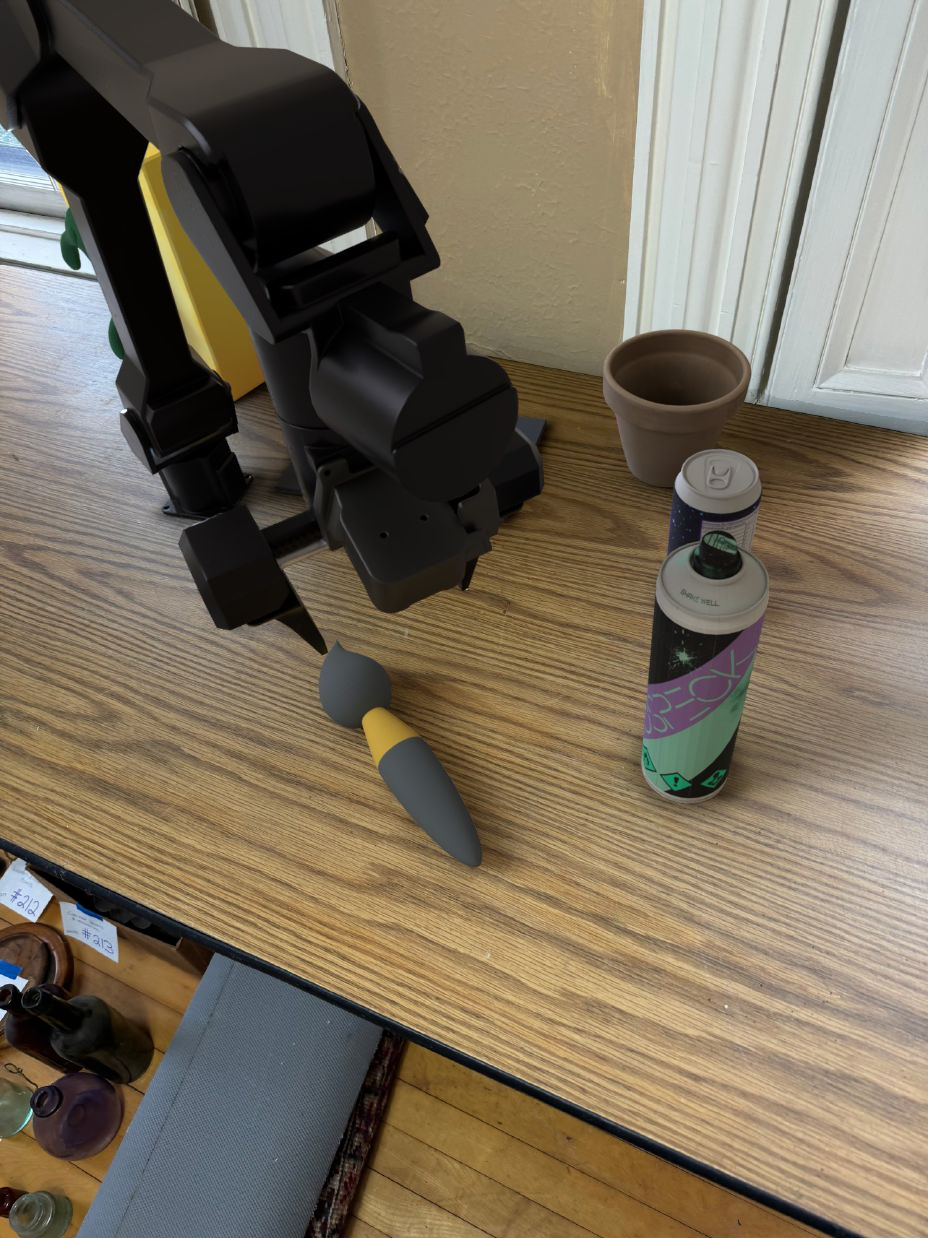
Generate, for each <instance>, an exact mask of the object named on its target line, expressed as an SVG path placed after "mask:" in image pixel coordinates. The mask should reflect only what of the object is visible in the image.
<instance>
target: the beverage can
mask: <svg viewBox="0 0 928 1238" xmlns="http://www.w3.org/2000/svg"><path fill="white" fill-rule="evenodd" d="M672 488H673V490H672V498H671V500H672V501H671V508H670V509H671V510H670V511H671V512H670V520H669V522H670V523H669V531H668V541H667V552H666V557H667V556H668V555H669V554H670V553H671V552H672V551H674V550H676V549H677V548H679V547H681V546H684V545H686V544H689V543H693V542H698V541H701V540H702V537H703V536H704V535H705V534H706V533H708V532H710V531H717V530H718V531H725V532H728V533H730V534H731V535H732V536H733V537H734V538H735V539H736V541H737V545H738V546H740V547H742V548H744V549H746V550H748V551H749V552H751V553H752V547H753V542H754V538H755V533H756V527H757V524H758V523H757V522H758V517H759V511H760V506H761V502H762V496H763V484H762V481H761V479H760V472H759V469H758V466H757V465H756V463H755V462H754V461H753V460H752V459H751V458H749V457H748V456H746V455H744V454H743V453H740V452H738V451H735V450H730V449H722V448H714V449H712V450H706V451H702V452H699V453H696V454H694V455H693V456H691V457H689V458H688V459H687V460H686V461H685V463H684V464H683V466H682V469H681V472H680V473H679V474H678V476H677V477H676V479H675V482H674V487H672Z"/></svg>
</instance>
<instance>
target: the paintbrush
mask: <svg viewBox="0 0 928 1238" xmlns="http://www.w3.org/2000/svg"><path fill="white" fill-rule="evenodd" d="M318 695H319V701H320V705H321V707H322V709H323V710H324V712H325V714H326V716H328V717H329V718H330V720H331V721H333V722H334V723H336V724H337V725H339V726H342V727H344V728H346V729H347V728H348V729H363V731H364V732H363V733H364V735H365V739H366V741H367V744H368V748H369V750H370V754H371V757H372V759H373V762H374V765H375V767H376V769H377V772H378V774H379V776H380V777H381V779H382V781H383V782H384V783H385V785H386V787H387V788H388V790H389V791H390V792H391V794H392V795H393V796H394V797H395V799H396V800H397V801H398V803H399V804H400V805H401V807H402V808H403V809H404V810H405V811H406V813H407V814H408V815H409V816H410V817H411V819H413V821H414V822H415V823H416V824H417V825H418V826H419V828H420V829H422V830H423V832H424V833H425V834H426V835H427V836H428V837H429V838H430V839H431V840H432V841H433V842H434V843H435V844H436V845H437V846H439V848H440V849H441V850H443V851H444V852H445V853H446V854H448V855H449V856H450V857H451V858H452V859H454V860H455V861H458V862H459V863H461V864H463V865H464V866H467V867H470V868H479V867H480V866H481V865H482V863H483V860H484V859H483V857H484V856H483V855H484V854H483V853H484V852H483V847H482V842H481V838H480V835H479V831H478V829H477V827H476V824H475V822H474V819H473V818H472V815H471V812H470V811H469V809H468V807H467V805H466V803H465V801H464V800H463V797H462V795H461V794H460V791H459V790H458V788H457V786H456V785H455V782H454V781H453V779H452V778H451V776H450V773H448V771H447V770H446V768H445V766H444V765H443V763H442V762H441V760H440V759H439V758H438V756H437V754H436V753H435V751H434V750H433V749H432V748H431V746H430V745H429V744H428V743H427V741H426V740H425V739H424V738H423V737H422V736H421V735H420V734H419V733H417V732H416V731H415V730H414V729H413V728H411V727H410V726H409V725H408V724H406V723H405V722H404V721H402V720H401V719H400V718H398V717H397V716H395V715H394V714H393V713H391V712H390V711H389V708H390V706H391V704H392V703H391V702H392V698H393V685H392V681H391V678H390V676H389V673H388V672H387V670H386V668H385V667H384V666H383V665H382V664H381V663H380V662H378V661H377V660H375V659H374V658H371V657H370V656H367V655H364V654H361V653H358V652H354V651H351V650H347V649H345V648H344V647H343V646H342V644H341V643H340V642H339V640H338V639H336V640H335V641H334V644H333V645H332V647H331V648H330V649H329V650H328V653H327V654H326V656H325V658H324V660H323V662H322V665H321V667H320V672H319V678H318Z"/></svg>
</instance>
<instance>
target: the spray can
mask: <svg viewBox="0 0 928 1238" xmlns="http://www.w3.org/2000/svg"><path fill="white" fill-rule="evenodd" d="M654 592H655V593H654V604H653V615H652V616H653V617H652V629H651V640H650V650H649V651H650V652H649V665H648V675H647V676H648V677H647V688H646V700H645V711H644V712H645V713H644V723H643V733H642V736H643V737H642V745H641V747H642V748H641V759H640V760H641V762H640V763H641V771H642V774H643V777H644V779H645V781H646V783H647V784H648V785H649V787H650V788H651V789H652V790H653V791H654V792H655V793H657V794H658V795H659V796H661V797H663V798H664V799H667V800H669V801H671V802H675V803H679V804H688V805H689V804H690V805H691V804H699V803H702V802H706V801H708V800H711V799H712V798H714V797H715V796H716V795H717V794H719V793H720V791H722V789H723V788H724V786H725V784H726V783H727V779H728V777H729V772H730V769H731V763H732V759H733V754H734V751H735V746H736V741H737V738H738V733H739V729H740V725H741V720H742V715H743V711H744V707H745V702H746V699H747V694H748V689H749V685H750V682H751V678H752V673H753V668H754V664H755V659H756V655H757V651H758V647H759V643H760V642H759V641H760V638H761V633H762V629H763V625H764V620H765V616H766V611H767V607H768V603H769V598H770V576H769V573H768V570H767V568H766V566H765V565H764V563H763V561H761V560H760V558H758V557H757V556H756V554H754V553H753V552H752V551H751V552H749V551H748V550H746V549H744V548H742V547H740V546H738V545H737V541H736V539H735V538H734V537H733V536H732V535H731V534H730V533H728V532H725V531H718V530H717V531H710V532H708V533H706V534H705V535H704V536H703V537H702V540H701V541H698V542H693V543H689V544H686V545H684V546H681V547H679V548H677V549H676V550H674V551H672V552H671V553H670V554H669V555H668V556H667V555H666V556H665V558H664V560H663V561H662V563H661V565H660V567H659V570H658V576H657V577H656V582H655V591H654Z"/></svg>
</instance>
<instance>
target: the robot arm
mask: <svg viewBox="0 0 928 1238" xmlns="http://www.w3.org/2000/svg"><path fill="white" fill-rule="evenodd" d="M0 126H1V127H2V129H4V130H5V131H6V132H10V133H11V134H12V136H13V137H14V138H15V139H16V140H17V141H18V143H20V145H21V146H22V147H23V149H25V151H26V152H27V153H28V154H29V155H30V157H31V158H32V159H33V160H34V161H35V162H36V163H37V165H38V166H39V167H40V168H41V169H42V171H43V172H44V173H45V174H47V175H48V176H49V177H51V178H52V179H53V180H54V181H55V182H56V181H57V182H58V183H60V184H61V186H62V189H63V191H64V194H65V196H66V199H67V202H68V204H69V207H70V209H71V212H72V215H73V217H74V220H75V222H76V225H77V228H78V230H79V233H80V235H81V238H82V241H83V243H84V246H85V248H86V251H87V254H88V256H89V259H90V260H89V259H88V260H89V262H90V261H91V262H90V264H91V267H92V270H93V272H94V275H95V277H96V279H97V283H98V285H99V287H100V290H101V292H102V295H103V297H104V300H105V303H106V306H107V308H108V310H109V313H110V315H111V317H112V318H113V321H114V324H115V326H116V329H117V331H118V334H119V337H120V339H121V342H122V344H123V347H124V350H125V355H124V358H123V360H121V364H120V367H119V370H118V373H117V376H116V379H115V381H114V385H115V388H116V390H117V393H118V396H119V398H120V401H121V404H122V407H123V410H121V411H119V425H120V426H119V428H120V431H121V435H122V436H123V438H124V440H125V441H126V443H127V445H128V447H129V448H130V451H131V452H132V454H133V455H134V456H135V457H136V458H137V459H138V460H139V462H140V463H141V464H142V465H143V466H144V468H146V470H147V471H148V472H149V473H150V474H151V475H152V476H154V475H157V474H158V476H159V477H160V480H161V482H162V484H163V486H164V488H165V490H166V493H167V494H168V496H169V498H168V499H167V500H166V502H165V503H164V505H163V506H162V507H161V512H162V514H163V515H165V516H170V517H178V518H185V519H190V520H198V521H199V522H197V523H194V524H192V525H189V526H187V527H184V528H183V529H182V530H181V531H182V532H181V534H180V536H179V539H178V542H177V545H178V547H179V550H180V552H181V554H182V557H183V558H184V561H185V563H186V565H187V568H188V570H189V572H190V575H191V577H192V580H193V582H194V584H195V587H196V589H197V591H198V593H199V595H200V597H201V599H202V602H203V603H204V606H205V608H206V609H207V613H208V614H209V616H210V617H211V619H212V622H213V624H214V626H215V628H216V629H220V630H225V631H229V632H230V631H233V630H236V629H238V628H240V627H242V626H244V625H246V626H248V627H252V628H257V627H260V626H262V625H264V624H266V623H268V622H269V623H270V622H272V621H274V620H275V621H276V622H278V623H281V624H283V625H284V626H286V627H287V628H289V629H291V630H292V631H293V632H294V633H296V634H297V636H299V637H300V638H301V639H303V641H305V642H306V643H307V644H308V645H309V646H310V647H311V648H312V649H314V650H315V651H316V652H318V653H319V654H320V655H321V656H325V655H327V654H328V653H329V650H328V647H327V643H326V640H325V638H324V637H323V635H322V633H321V632H320V629H319V628H318V626H317V624H316V621H314V619H313V617H312V615H311V614H310V612H309V610H308V609H307V607H306V605H305V604H304V602H303V600H302V598H301V597H300V595H299V593H298V592H297V590H296V589H295V587H294V584H293V583H292V581H291V580H290V578H289V577H288V575H287V573H286V571H285V570H284V569H286V568H289V567H291V566H293V565H296V564H298V563H300V562H302V561H305V560H307V559H309V558H312V557H314V556H317V555H318V554H322V553H324V552H326V551H328V550H330V551H331V552H335V551H337V550H339V549H342V548H344V550H345V553H346V555H347V558H348V559H349V561H350V563H351V565H352V566H353V569H354V571H355V572H356V574H357V576H358V578H359V580H360V582H361V583H362V586H363V587H364V589H365V591H366V594H367V596H368V598H369V600H370V601H371V603H372V605H373V607H374V608H375V609H377V610H378V611H380V612H382V613H386V614H396V613H400V612H404V611H405V610H407V609H409V608H410V607H411V606H412V605H414V604H416V603H419V602H420V601H423V600H425V599H427V598H429V597H432V596H434V595H436V594H438V593H440V592H443V591H449V590H452V589H454V588H455V587H456V586H457V587H458V588H459V589H460V591H461V592H464V591H466V590H468V589H469V588H470V586H471V585H470V584H471V582H472V579H473V576H474V573H475V570H476V568H477V565H478V561H479V558H480V557H481V556H483V555H485V554H488V553H490V552H492V551H493V546H492V542H491V540H490V538H492V537H495V536H497V535H498V534H499V529H500V524H501V522H500V519H502V518H504V517H507V516H511V515H513V514H516V513H517V512H520V511H521V510H522V509H523V507H524V504H525V502H526V501H529V500H531V499H533V498H535V497H539V496H540V495H542V492H543V490H544V488H545V474H544V473H545V470H544V461H543V458H542V456H541V453H540V451H539V449H538V446H536V445H534V444H533V443H532V442H531V441H530V440H529V439H528V438H527V437H526V436H525V435H524V434H523V433H522V432H521V431H520V430H519V429H518V428H517V427H516V424H517V420H518V417H519V405H520V402H519V395H518V390H517V388H516V387H515V386H514V385H513V383H512V380H511V378H510V376H509V374H508V372H507V371H506V370H505V369H504V368H503V367H502V366H501V364H500V363H499V362H497V361H496V360H493V359H492V358H490V357H489V356H487V355H485V354H484V353H482V352H480V351H479V350H477V349H475V348H474V347H472V346H470V345H468V344H467V342H466V335H465V329H464V327H463V324H462V323H461V322H460V321H458V320H457V319H455V318H453V317H451V316H450V315H448V314H446V313H444V312H441V311H439V310H435V309H430V308H427V307H426V306H423V305H422V304H420V303H418V302H417V301H415V300H414V295H413V291H412V285H411V282H412V281H413V280H416V279H417V278H420V277H422V276H424V275H426V274H428V273H431V272H432V271H435V270H437V269H439V268H440V267H441V262H442V261H441V260H442V259H441V256H440V254H439V251H438V249H437V248H436V246H435V244H434V241H433V239H432V237H431V235H430V233H429V231H428V229H427V227H426V224H427V223H428V220H429V218H430V215H429V213H428V210H426V208H425V206H424V205H423V203H422V201H421V200H420V199H421V198H419V196H418V195H417V193H416V191H415V189H414V188H413V186H412V185H411V183H410V181H409V179H408V178H407V176H406V175H405V173H404V171H403V169H402V167H401V166H400V164H399V162H398V161H397V159H396V158H395V155H394V154H393V153H392V151H391V149H390V148H389V146H388V144H387V142H386V141H385V139H384V137H383V135H382V133H381V131H380V129H379V127H378V125H377V123H376V121H375V119H374V117H373V115H372V113H371V111H370V110H369V108H368V107H367V105H366V103H365V102H364V101H363V100H362V98H360V96H358V95H357V94H356V93H355V92H354V90H353V89H352V88H351V86H350V85H349V84H348V83H347V82H346V81H345V79H343V77H341V75H339V73H337V72H336V71H334V69H332V68H330V67H329V66H327V65H325V64H323V63H320V62H318V61H316V60H314V59H311V58H308V57H307V56H304V55H302V54H299V53H297V52H295V51H292V50H290V49H287V48H276V47H255V46H237V45H233V44H231V43H229V42H227V41H224V40H222V39H221V38H220V37H219V36H218V35H217V34H215V33H214V32H213V31H211V29H208V28H207V27H206V26H205V25H204V24H203V23H202V22H200V21H199V20H197V18H195V17H194V16H192V15H191V14H190V13H188V12H187V11H186V10H185V9H184V8H183V7H182V6H180V5H179V4H178V3H177V2H175V1H174V0H0ZM150 142H151V143H152V144H153V145H154V146H155V147H156V148H157V149H158V150H159V151H160V153H161V157H162V159H161V173H162V178H163V183H164V186H165V189H166V192H167V195H168V198H169V201H170V203H171V205H172V208H173V210H174V213H175V215H176V216H177V218H178V220H179V222H180V224H181V226H182V228H183V230H184V231H185V233H186V235H187V236H188V238H189V239H190V241H191V242H192V244H193V245H194V247H195V248H196V250H197V251H198V253H199V254H200V256H201V257H202V258H203V260H204V261H205V263H206V264H207V266H208V267H209V269H210V270H211V272H212V273H213V275H214V276H215V277H216V279H217V280H218V282H219V283H220V285H221V286H222V288H223V289H224V291H225V292H226V293H227V295H228V296H229V298H230V299H231V301H232V302H233V304H234V305H235V307H236V308H237V309H238V311H239V312H240V314H241V315H242V317H243V318H244V320H245V321H246V324H247V327H248V330H249V334H250V337H251V340H252V343H253V346H254V349H255V352H256V355H257V358H258V361H259V364H260V367H261V370H262V373H263V376H264V379H265V382H264V383H265V385H266V388H267V391H268V394H269V398H270V400H271V403H272V406H273V410H274V412H275V416H276V419H277V422H278V424H279V428H280V431H281V433H282V437H283V440H284V442H285V446H286V449H287V452H288V455H289V458H290V461H291V462H292V464H293V467H294V470H295V473H296V476H297V479H298V482H299V485H300V488H301V492H302V494H301V495H302V497H303V501H304V504H305V507H306V509H307V510H305V511H302V512H300V513H296V514H295V515H292V516H290V517H287V518H285V519H282V520H281V521H277V522H275V523H273V524H271V525H268V526H266V527H263V528H261V529H260V526H259V525H258V523H257V521H256V520H255V518H254V516H253V514H252V512H251V510H250V508H249V507H248V505H247V503H243V504H241V505H238V506H237V504H238V503H239V502H240V500H241V499H242V497H243V496H244V495H245V493H246V492H247V490H248V489H249V488H250V486H251V485H252V483H253V482H254V480H255V478H254V475H253V473H249V472H244V471H243V469H242V468H241V465H240V462H239V460H238V457H237V454H236V453H235V451H232V450H231V447H230V444H229V442H228V440H227V438H228V437H230V436H232V435H237V434H238V433H240V428H239V419H238V415H237V409H236V405H235V401H234V400H233V396H232V393H231V390H232V388H231V385H230V384H229V383H228V382H226V381H224V380H223V379H222V378H221V377H220V375H219V374H218V373H217V372H216V371H215V370H214V369H211V368H210V367H209V366H208V364H207V363H206V362H205V361H204V360H203V359H202V357H201V356H200V355H199V354H198V353H197V352H196V350H195V349H194V348H193V347H192V346H191V345H189V344H188V342H187V339H186V336H185V332H184V329H183V326H182V322H181V319H180V316H179V312H178V309H177V306H176V302H175V299H174V296H173V292H172V289H171V286H170V282H169V279H168V276H167V272H166V269H165V266H164V262H163V259H162V256H161V252H160V249H159V245H158V242H157V239H156V235H155V232H154V229H153V225H152V222H151V219H150V215H149V212H148V209H147V205H146V202H145V199H144V195H143V192H142V189H141V185H140V181H139V175H140V171H141V168H142V165H143V162H144V159H145V156H146V152H147V149H148V146H149V143H150ZM57 182H56V183H57ZM371 220H373V222H375V224H376V225H377V227H378V228H379V229H380V231H381V233H379V234H377V235H374V236H371V237H369V238H367V239H365V240H362V241H360V242H358V243H356V244H354V245H352V246H349V247H347V248H345V249H342V250H340V251H338V252H332V251H330V250H328V249H326V248H324V247H322V246H321V245H323V244H325V243H328V242H330V241H333V240H335V239H337V238H340V237H342V236H344V235H346V234H349V233H351V232H353V231H356V230H358V229H360V228H363V227H364V226H365V225H367V224H368V223H369V222H370V221H371ZM507 518H508V517H507Z"/></svg>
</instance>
